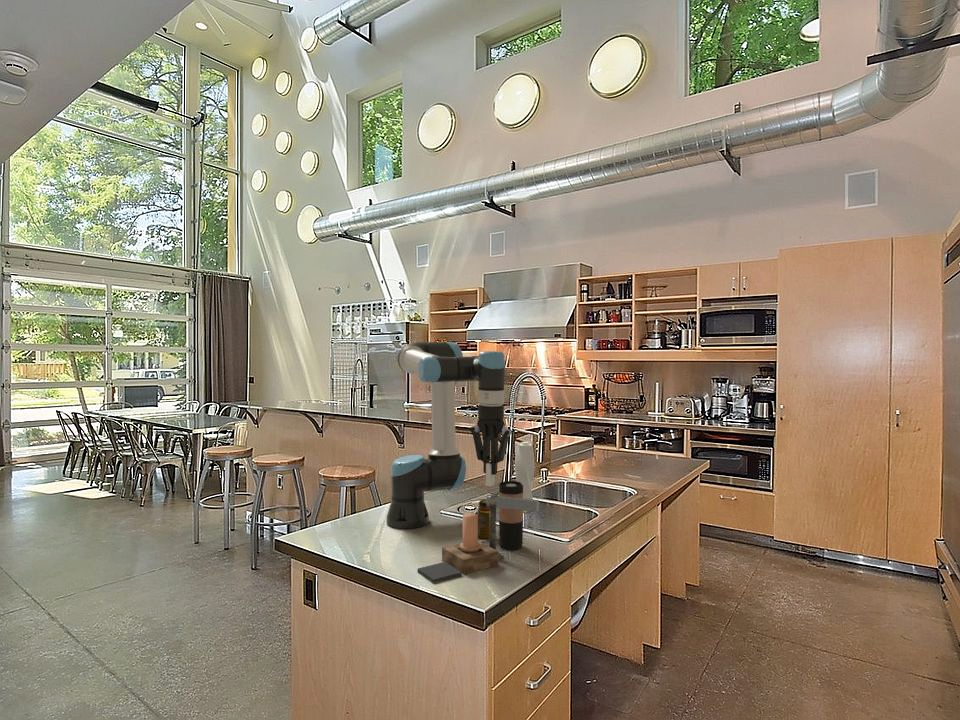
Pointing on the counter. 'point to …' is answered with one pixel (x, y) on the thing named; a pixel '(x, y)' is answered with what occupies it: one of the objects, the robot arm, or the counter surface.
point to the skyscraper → (525, 468)
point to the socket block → (477, 559)
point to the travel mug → (510, 518)
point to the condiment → (483, 521)
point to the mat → (439, 572)
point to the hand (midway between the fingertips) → (490, 484)
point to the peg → (470, 534)
